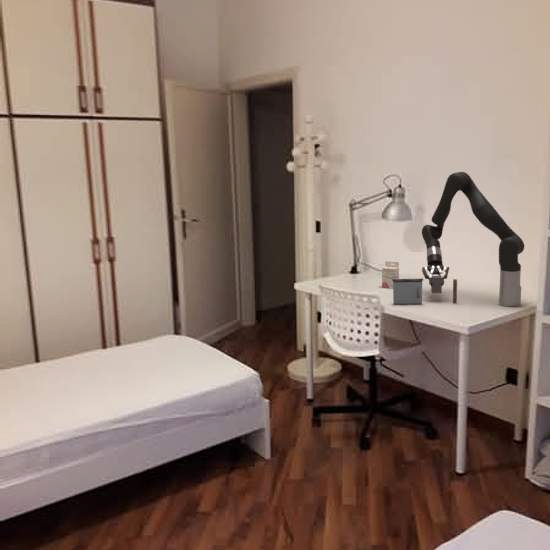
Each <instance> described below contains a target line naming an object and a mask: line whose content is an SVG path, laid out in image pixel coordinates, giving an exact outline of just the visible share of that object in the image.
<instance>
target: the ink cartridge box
mask: <svg viewBox="0 0 550 550" xmlns="http://www.w3.org/2000/svg"><path fill="white" fill-rule="evenodd" d="M399 265H400V264H399V262H398V261H385V266H383V267H381V276H382V277H381V288H383V289H384V288H385V289H391V288H393V281H392V279H400V267H399Z"/></svg>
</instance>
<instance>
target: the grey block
mask: <svg viewBox="0 0 550 550" xmlns="http://www.w3.org/2000/svg"><path fill="white" fill-rule="evenodd" d="M410 304H411V305H412V304H413V305H416V304H417V305H419V304H420V305H421V304H423V281H422V282H394V305H410Z"/></svg>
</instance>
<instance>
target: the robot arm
mask: <svg viewBox="0 0 550 550" xmlns="http://www.w3.org/2000/svg"><path fill="white" fill-rule="evenodd" d="M460 191H461V192H462V193H463V194H464V195H465V197H466V198H467V200H468V202H469V205H470V208H471V213H472V214H473V216H475V218H476V220H478V221H479V223H480V224H481V225H482V226H484V227H485V228H486V229H487V230H488V231H491V232H492V233H494V234H495V235H496V236H497V237H498V239H499V240H500V243H499V246H498V264H499V272H500V274H499V293H498V295H499V297H498V298H499V299H498V304H499V305H500V306H503V307H517V306H521V301H522V300H521V299H522V286H521V273H522V272H521V271H522V265H521V263H519V255H520V254H521V253H524V250H525V243H524V240H523V239H522V238H521V237H520V236H519V234H517V233H516V232H515V231H514V229H512V228H511V227H510V226H509V225H508V224H507V222H506V221H505V220H504V219H503V217H502V216H501V215H500V214H499V212H498V211H497V209H495V207H494V206H493V205H492V204H491V203H490V201H488V199H487V198H486V197H485V195H484V194H483V193H482V192H481V191H480V189H479V188H478V186H477V185H476V183H475V182H474V180H473V179H472V177H471V176H470V175H469V174H468V173H467V172H465V171H458V172H453V173H451V174H449V176H448V177H447V179H446V182H445V185H444V188H443V192H442V194H441V197H440V200H439V202H438V205H437V207H436V209H435V211H434V213H433V215H432V216H431V222H432V223H433V225H432V224H424V225H423V227H422V229H421V236H422V238H423V239H422V240H423V241H424V243H425V245H426V262H427V266H426V267H424V266H422V268H421V272H422V275H423V277H424V278H425V280H428V282H429V283H428V284H429V286H430V287H431V286H432V285H433V283H432V276H441V277H442V287H443V286H444V285H445V280H447V279H448V275H449V271H450V267H449V266H447V267H445V266H444V263H443V256H442V254H443V253H442V250H441V242H440V241H439V240H440V239H441V237H442V235H443V231H444V226H445V223H446V221H447V219H448V217H449V214H450V213H451V208H452V202H453V199H454V197H455V196H456V194H457V193H458V192H460ZM427 271H428V272H429V275H428V272H427ZM443 271H444V272H445V274H443Z"/></svg>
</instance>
